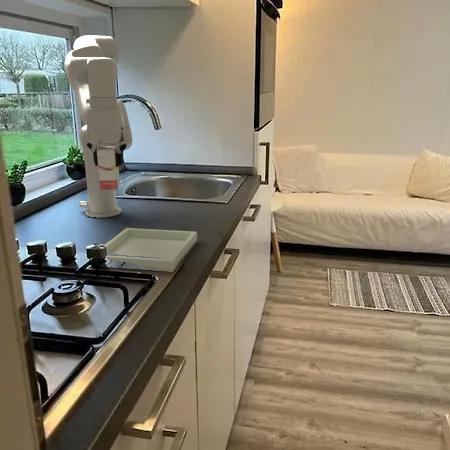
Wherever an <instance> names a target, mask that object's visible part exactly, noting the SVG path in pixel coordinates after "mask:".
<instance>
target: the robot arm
mask: <svg viewBox="0 0 450 450" xmlns="http://www.w3.org/2000/svg"><path fill="white" fill-rule="evenodd" d="M118 45H119V44H118V42H117V40H116V39H115V38H114V37H112V36H110V35H109V36H108V35H107V36H106V35H83V36H80V37H78V38H77V39H76V40H75V42H74V44H73V50H70V51H69V52H68V54H67V55H66V57H65V58H66V59H65V60H64V61H65V62H64V69H65V74H66V76H67V80H68V82H69V85H70V88H72V90H73V93H75V96H76V99H77V100H76V101H77V105H78V111H79V115H80V120H81V122H82V123H83V126H82V127H81V128H80V129H79V135H78V136H79V141H80V144H81V149H82V153H83V160H84V169H85V177H86V179H85V180H86V188H87V198H88V199H87V201H85V200H80V201H79V208H83V209H84V208H85V210H84V211H85V212H84V214H86V215H87V217H88V216H89V217H90V218H94V217H96V218H100V219H101V218H102V219H103V218H109V217H110V218H111V217H114V216H118V215H120V214H121V213H122V208H121V207H120V206H118V205H117V196H116V195H117V194H116V190H100V181H99V169H98V158H97V140H98V139H99V144H102V147H103V146H114V147H115V149H116V152H117V153H116V154H115V160H116V166H117V167H122V166H123V164H124V154H123V153H124V152H125V151H126V150H129V149H130V148H131V147H132V145H133V135H132V128H131V124H130V120H129V116H128V112H127V109H126V105H125V103H123V101H122V100H120V99H118V97H117V96H118V94H117V83H116V82H117V81H116V79H117V78H118V76H119V75H118V71H119V70H118V62H119V57H120V50H119V46H118ZM86 215H85V216H86ZM89 217H88V218H89Z"/></svg>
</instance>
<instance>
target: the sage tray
mask: <svg viewBox="0 0 450 450" xmlns="http://www.w3.org/2000/svg"><path fill="white" fill-rule="evenodd" d="M196 243H198V232H197V231H187V230H169V229H154V228H153V229H152V228H151V229H150V228H134V227H133V228H132V227H126V228H124V229H123V230H122V231H121V232H120V233H118V234H117V235H115V236H114V237H113V238H112V239H110V240H108V241H107V242H106V243H105V244H103V246H105V247H106V249H107V253H109V254H118V255H127V256H145V257H156V258H161V259H156V258H141V257H126V256H111V255H107V259H109V260H113V261H120V262H126V263H133V264H140V265H146V266H151V267H159V268H167V269H173V268H174V267H175V266H176V265H177V264H178V263H179V261H181V260H182V261H183V260H184V259H185V258H186V256H187V255H188V254H189V252H190V251H191V250H192V249H193V248H194V246H195V245H196Z"/></svg>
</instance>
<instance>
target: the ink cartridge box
mask: <svg viewBox="0 0 450 450" xmlns="http://www.w3.org/2000/svg"><path fill="white" fill-rule="evenodd" d="M116 153H117V152H116V149H115V147H114V146H103V147H102V144H99V139H98V140H97V158H98V169H99V181H100V190H115V191H116V190H117V188H118V187H119V185H120V183H121V182H120V168H119V167H120V166H119V167H117V166H116V160H115V154H116Z"/></svg>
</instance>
